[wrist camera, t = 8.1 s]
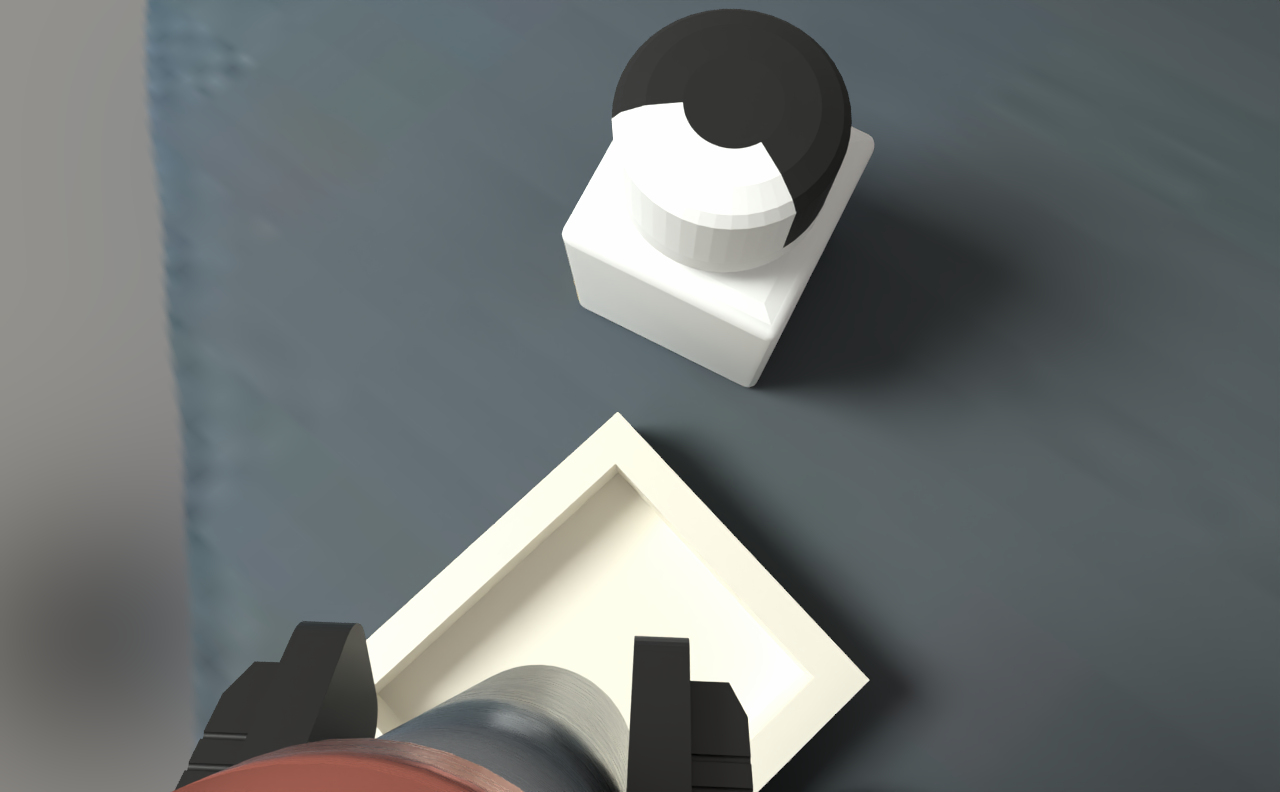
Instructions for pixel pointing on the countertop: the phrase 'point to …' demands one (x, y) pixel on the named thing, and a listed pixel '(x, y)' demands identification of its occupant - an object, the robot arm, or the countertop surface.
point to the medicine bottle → (716, 188)
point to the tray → (615, 603)
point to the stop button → (464, 746)
